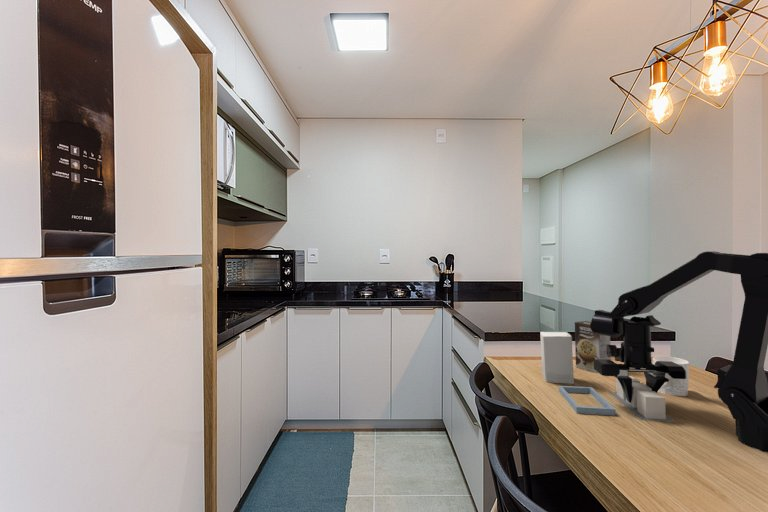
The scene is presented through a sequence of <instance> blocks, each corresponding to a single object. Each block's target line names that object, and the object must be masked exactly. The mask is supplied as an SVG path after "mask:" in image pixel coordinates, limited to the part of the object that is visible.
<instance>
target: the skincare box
mask: <svg viewBox="0 0 768 512" xmlns="http://www.w3.org/2000/svg"><path fill="white" fill-rule="evenodd" d="M539 333H540V334H539V335H540V336H539V337H540V353H541V354H540V356H541V358H540V359H541V372H542V375H541V376H542V378H543V380H544V381H545V383H552V384H553V383H554V384H555V383H556V384H571V385H572V384H575V377H574V361H573V360H574V359H573V358H574V357H573V336H572V335H571V334H570V333H568V332H567V331H540V332H539Z"/></svg>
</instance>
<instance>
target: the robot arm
mask: <svg viewBox="0 0 768 512" xmlns="http://www.w3.org/2000/svg"><path fill="white" fill-rule="evenodd" d="M714 271H716V272H717V271H718V272H723V273H727V274H733V275H734V274H735V275H740V283H741V286H742V290H743V293H744V302H743V307H742V311H741V312H742V313H741V318H740V323H739V329H738V334H737V340H736V345H735V350H734V355H733V361H732V363H731V364H728V365H726V366H723V367H721V368H717V373H716V374H717V381H716V384H715V385H714V386H713V388H714V389H717V396H718V398H719V399H720V400H721V401H722V402H723V404H725V405H726V406H727V408H728V411H729V412H730V414H731V416H732V418H733V419H734V420H735V423H734V424H735V425H734V426H735V435H736V437H737V440H738V442H740V443H741V444H743V445H744V446H747V447H750V448H752V449H755V450H758V451H760V452H762V453H768V377H767V375H766V372H765V362H766V356H767V351H768V252H755V253H752V254H738V253H737V254H736V253H735V254H734V253H725V252H724V253H723V252H719V251H715V250H714V251H713V250H712V251H710V250H709V251H702V252H700V253H699V254H697V256H695V257H694V258H692V259H691V260H689V261H688V262H686V263H684V264H682V265H680V266H679V267H677V268H675V269H674V270H672V271H671V272H669V273H667V274H665V275H663V276H662V277H660V278H658V279H657V280H655V281H654V282H652V283H650V284H647V285H645V286H642V287H638V288H635V289H633V290H630V291H627V292H625V293H622V294H621V295H620V296H619V297H618V298H617V299H618V301H617V304H616V306H615V307H614V308H613V309H612V311H607V310H603V309H597V310H594V315H592V318H591V321H590V322H591V323H590V327H591V330H592V332H593V333H594V334H599V335H605V336H610V338H611V337H612V338H620V336H621V335H622V337H623V338H622V339H623V341H622V342H621V343H620V347H617V345H616V344H610V345H607V349H606V351H607V356H608V357H611V358H614V361H613V360H612V359H611V360H607V359H596V360H595V361H594V370H596V371H597V372H598V373H597V374H599V375H601V376H604V377H614V378H615V379H616V378H617V379H618V381H619V382H620V384H621V386H622V389H623V391H624V394H625V396H626V398H627V401H628V402H630V403H631V400H632V378H630V377H629V376H630V375H629V373H643V375H644V377H645V384H646V385H647V386H649V387H650V388H652V391H655V392H657V393H658V392H659V391H658V390H659V389H660V388H661V386H662V385H663V384H664V383H665V382H669V379H667V378H666V377H665V375H666V373H668V375H669V376H670V377H671V378H673V379H686V370H685V369H684V368H683V367H682V366H680V365H678V364H676V363H674V362H672V361H656V363H655V365H654V364H653V358H652V353H655V348H654V347H652V333H651V327H656V326H660V325H661V324H662V323H661V322H660V321H659V320H658V319H656V318H655V316H654V315H652V314H651V315H650V314H649V315H646V316H645V317H643V316H637V315H642V314H643V315H644V314H647V313H650V312H651V311H653V310H655V308H656V307H657V306H659V305H660V304H661V303H662V302H663V300H664V299H666V298H667V297H668V296H670V295H672V294H674V293H676V292H677V291H679V290H680V289H681V290H682V288H684V287H687V286H688V285H690V284H692V283H694V282H696V281H697V280H699V279H701V278H703V277H705V276H707V275H709V274H710V273H712V272H714ZM630 316H632V317H631V318H625V317H630ZM617 362H620V363H617Z"/></svg>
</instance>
